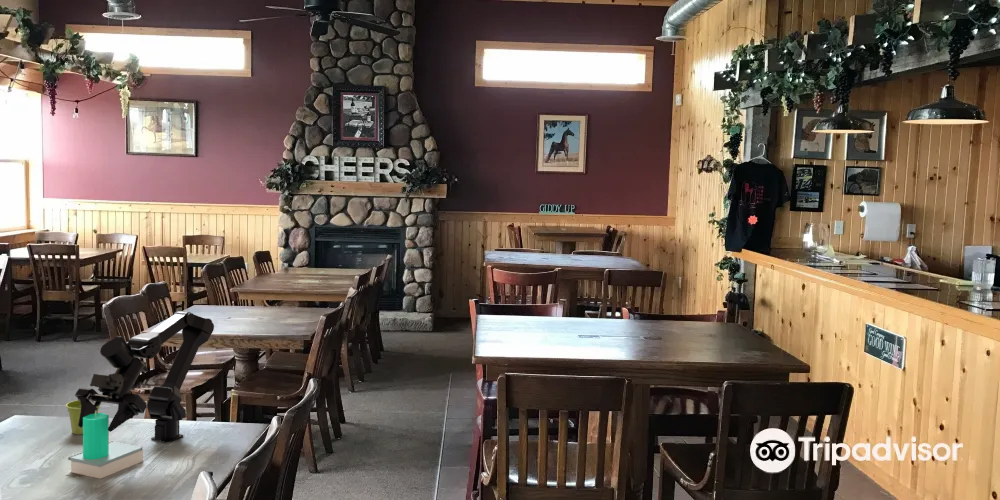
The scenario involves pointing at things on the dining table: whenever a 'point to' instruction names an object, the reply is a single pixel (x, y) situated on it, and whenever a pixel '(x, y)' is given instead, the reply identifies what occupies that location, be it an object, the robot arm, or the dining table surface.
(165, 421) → the robot arm
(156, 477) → the dining table surface
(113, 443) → the lid
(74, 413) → the plant pot
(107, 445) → the candle
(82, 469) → the small notepad
